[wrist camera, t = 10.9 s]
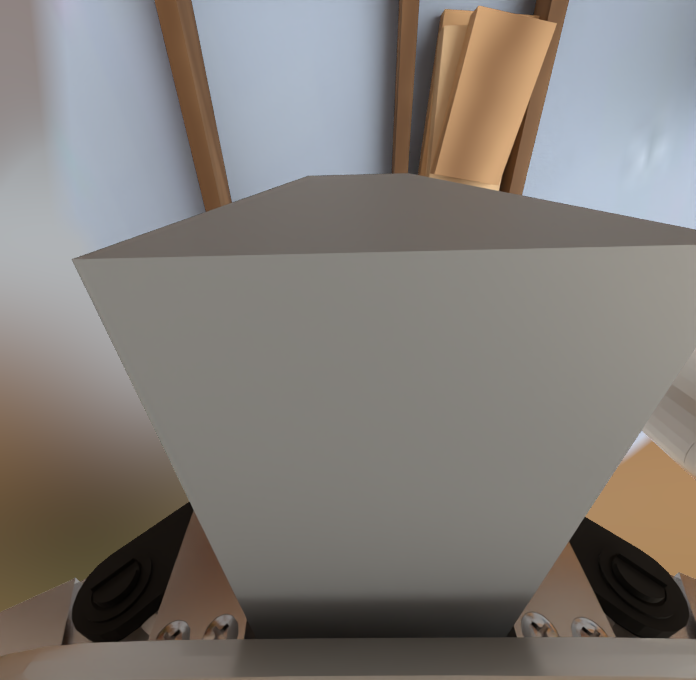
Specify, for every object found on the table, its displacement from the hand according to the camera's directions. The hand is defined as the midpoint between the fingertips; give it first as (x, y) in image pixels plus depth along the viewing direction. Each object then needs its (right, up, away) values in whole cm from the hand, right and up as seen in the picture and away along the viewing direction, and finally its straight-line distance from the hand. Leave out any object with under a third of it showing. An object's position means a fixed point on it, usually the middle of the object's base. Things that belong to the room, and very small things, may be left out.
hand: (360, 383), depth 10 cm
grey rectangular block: (0, +1, +2) cm, 2 cm away
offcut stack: (+10, +21, +17) cm, 29 cm away
